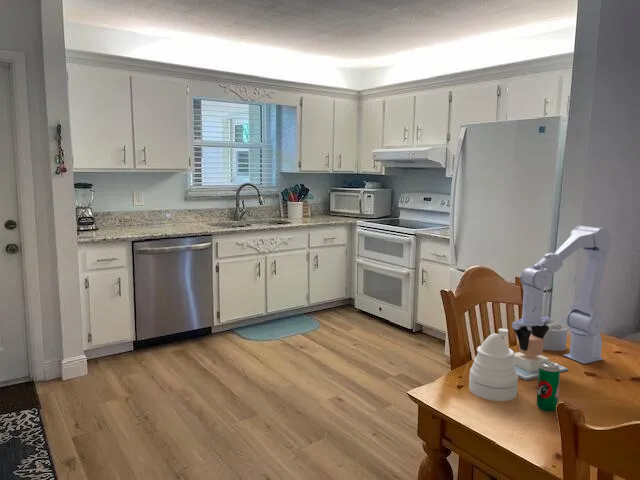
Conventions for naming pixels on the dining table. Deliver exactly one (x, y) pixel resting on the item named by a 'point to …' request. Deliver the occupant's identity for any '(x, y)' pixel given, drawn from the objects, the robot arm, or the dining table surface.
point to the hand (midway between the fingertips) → (529, 348)
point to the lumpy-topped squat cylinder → (554, 337)
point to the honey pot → (494, 370)
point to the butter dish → (530, 365)
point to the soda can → (548, 386)
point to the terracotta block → (533, 347)
